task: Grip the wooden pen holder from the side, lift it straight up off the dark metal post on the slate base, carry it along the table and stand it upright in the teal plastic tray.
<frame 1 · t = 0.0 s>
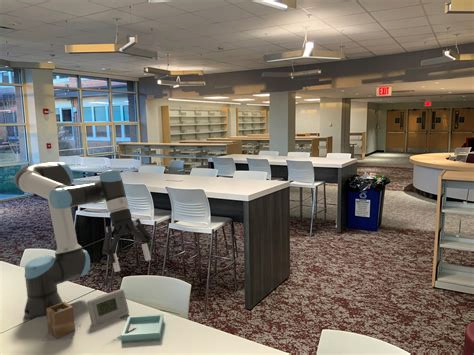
hand: (133, 265, 141), 28 cm above the table, tool tilted 20°, fingers open, 13 cm apart
digital clock: (109, 320, 157), on the table
tray: (143, 331, 147), on the table
wooden pen holder: (62, 332, 146), point 1 cm above the table, touching post base
post base: (62, 335, 146), on the table
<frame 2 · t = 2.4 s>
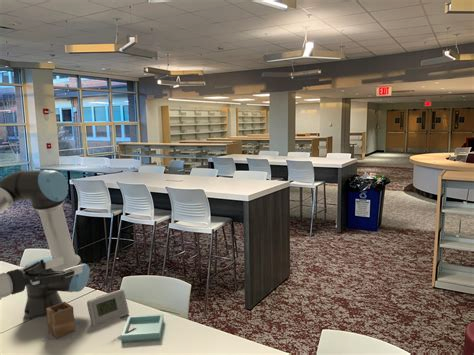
hand: (72, 264, 138), 30 cm above the table, tool horizontal, fingers open, 13 cm apart
nothing on the table moved.
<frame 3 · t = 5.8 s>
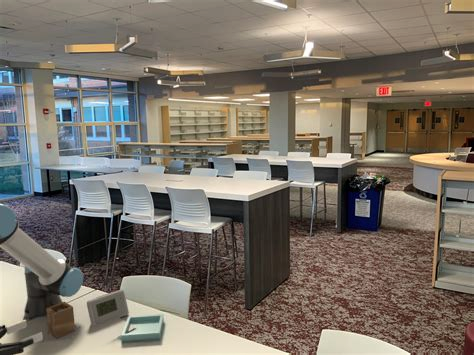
hand: (33, 329, 137), 7 cm above the table, tool horizontal, fingers open, 13 cm apart
nothing on the table moved.
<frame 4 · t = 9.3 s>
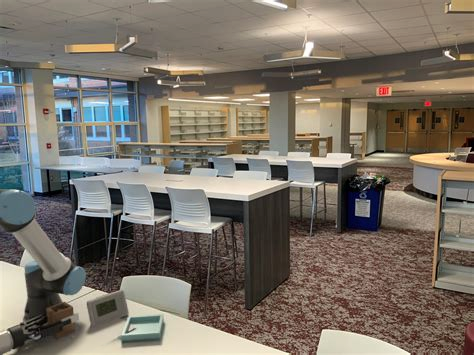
hand: (73, 313, 149), 7 cm above the table, tool horizontal, fingers closed on wooden pen holder, 7 cm apart
wooden pen holder: (61, 332, 146), point 1 cm above the table, touching gripper, post base
everything else where it was.
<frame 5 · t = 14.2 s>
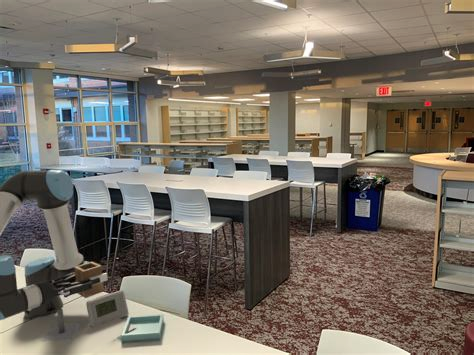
hand: (101, 273, 143), 24 cm above the table, tool horizontal, fingers closed on wooden pen holder, 7 cm apart
wooden pen holder: (89, 292, 140), point 19 cm above the table, touching gripper
everything else where it was.
when the fingers open (9 cm above the table, at t = 19.6 s): wooden pen holder drops 2 cm, resting on tray.
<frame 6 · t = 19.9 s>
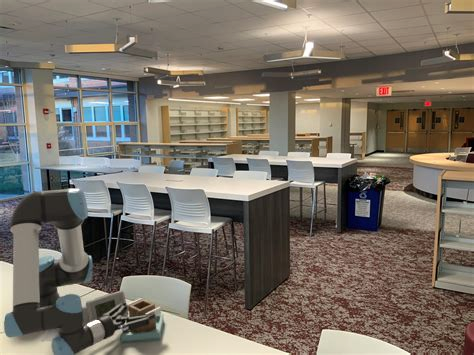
hand: (150, 305, 149), 9 cm above the table, tool horizontal, fingers open, 11 cm apart
wooden pen holder: (143, 329, 147), point 1 cm above the table, touching tray
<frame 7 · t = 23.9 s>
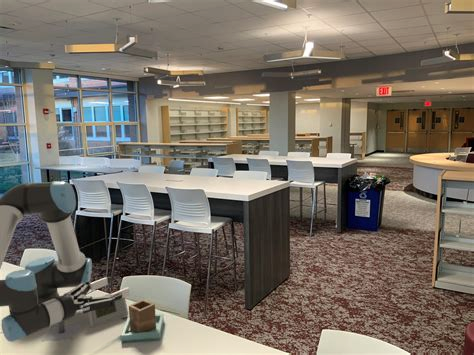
hand: (117, 285, 136), 23 cm above the table, tool horizontal, fingers open, 13 cm apart
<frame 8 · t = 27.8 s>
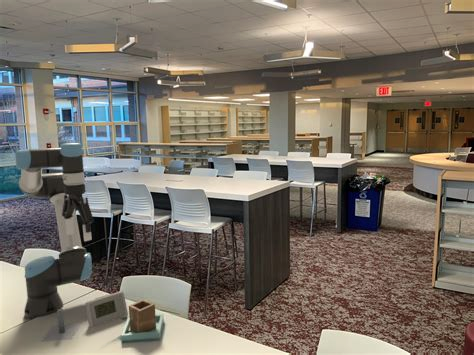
hand: (79, 237, 148), 37 cm above the table, tool pointing down, fingers open, 13 cm apart
at the end: wooden pen holder inside the target area on the tray (0.1 cm from its centre), point 1.0 cm above the tray's base; wooden pen holder tilted 0°; the gripper is holding nothing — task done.
